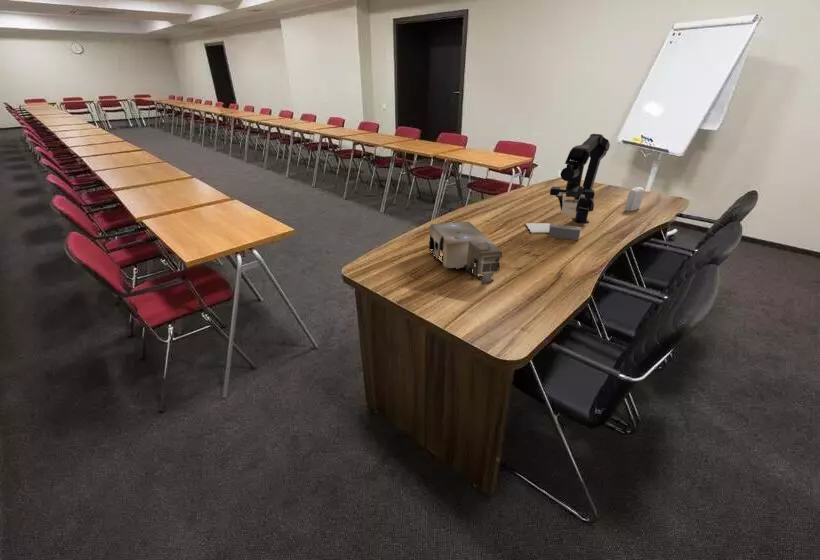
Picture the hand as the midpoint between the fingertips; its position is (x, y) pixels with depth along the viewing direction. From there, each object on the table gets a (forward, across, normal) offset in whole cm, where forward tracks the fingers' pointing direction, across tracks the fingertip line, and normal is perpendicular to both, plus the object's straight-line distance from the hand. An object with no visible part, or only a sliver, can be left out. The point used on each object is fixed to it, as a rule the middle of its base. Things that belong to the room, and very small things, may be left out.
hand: (568, 210), depth 177 cm
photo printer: (+11, +33, +50) cm, 61 cm away
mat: (+10, -11, 0) cm, 15 cm away
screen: (+10, 0, -8) cm, 13 cm away
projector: (+11, -35, -52) cm, 63 cm away
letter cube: (+1, 0, 0) cm, 1 cm away
